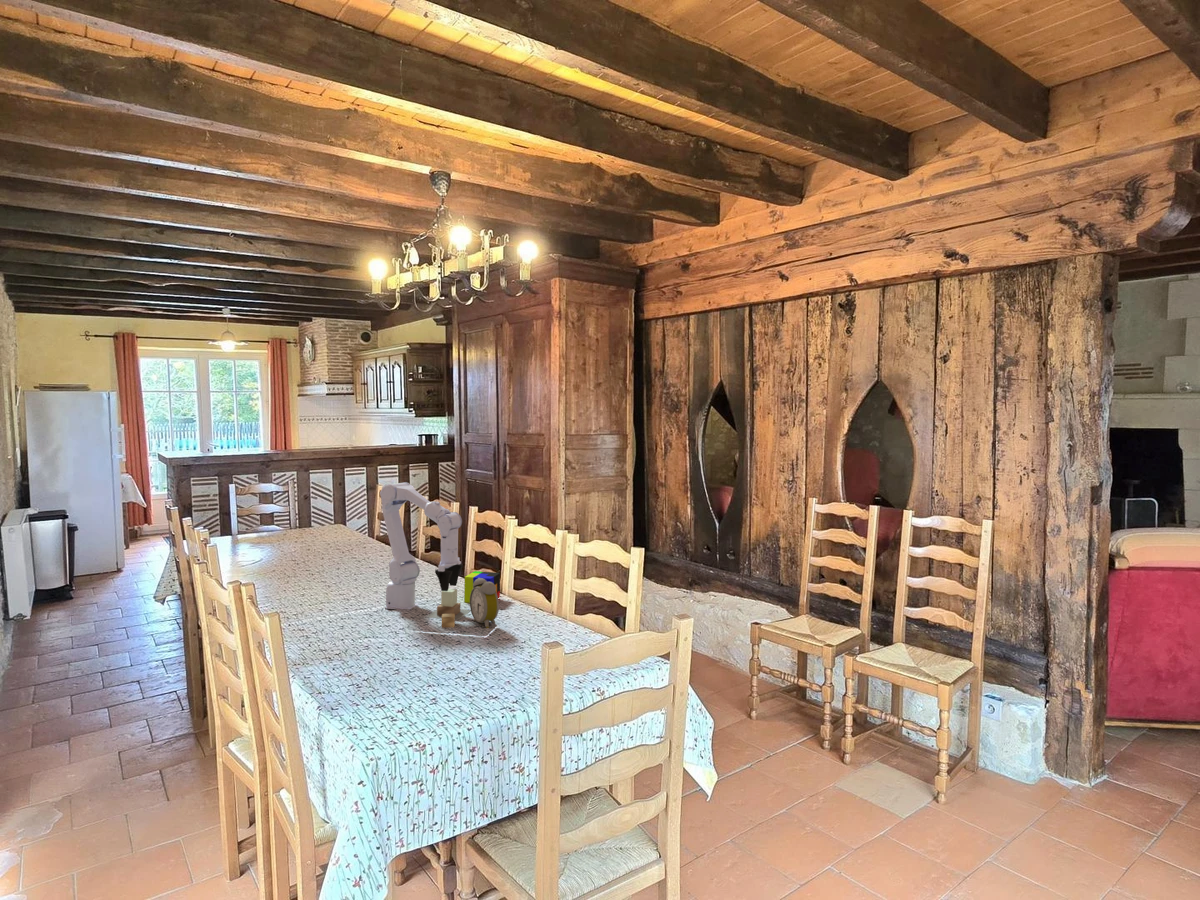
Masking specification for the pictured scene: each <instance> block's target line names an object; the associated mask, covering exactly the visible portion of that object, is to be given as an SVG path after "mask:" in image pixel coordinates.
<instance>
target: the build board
mask: <svg viewBox="0 0 1200 900" xmlns="http://www.w3.org/2000/svg"><path fill="white" fill-rule="evenodd" d="M470 612H471V609H462V608H460V612H459V613H458V614H457V615H455V621H456V620H458V621H460V620H461V619H462V618H463V617H465V616H467V614H468V613H470ZM425 618H427V619H429V618H430V619H431V618H432V619H441V620H442V616H439V615H437V609H435V610H433V611H432V612H431V613H429V614H428V615H426V616H425Z"/></svg>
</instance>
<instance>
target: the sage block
mask: <svg viewBox="0 0 1200 900" xmlns="http://www.w3.org/2000/svg"><path fill="white" fill-rule="evenodd" d="M440 593H441V596H440V597H441V599H440V601H441V602H440V603H441V606H449V607H453V606H454V605H456V604H457V603H458V589H456V588H448V591H441V592H440Z"/></svg>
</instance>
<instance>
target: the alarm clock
mask: <svg viewBox="0 0 1200 900" xmlns="http://www.w3.org/2000/svg"><path fill="white" fill-rule="evenodd" d="M469 608H470V609H469V610H471V611H470V612H471V615H472V618H473V622H477V623H483V624H484V626H485V629H489V626H490V623H492V624H495V623H496V621H495V620H496V618H497V616H498V614H499V610H500V600H498V596H497V593H496V586H495V585H494V583H492V582H487V581H486V580H485V579H483V578H478V579H476V580H475V581H474V583H473V589H472V591H471V595H470V603H469Z"/></svg>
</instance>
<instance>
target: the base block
mask: <svg viewBox="0 0 1200 900" xmlns="http://www.w3.org/2000/svg"><path fill="white" fill-rule="evenodd" d="M460 609H461V603H460V602H457V604H456V605H454V606H453V607H449V606H441V604H439V605H437V607H436V610H437V615H439V616H442V614H455V615H457V614H458V613H459V612H460Z"/></svg>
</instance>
